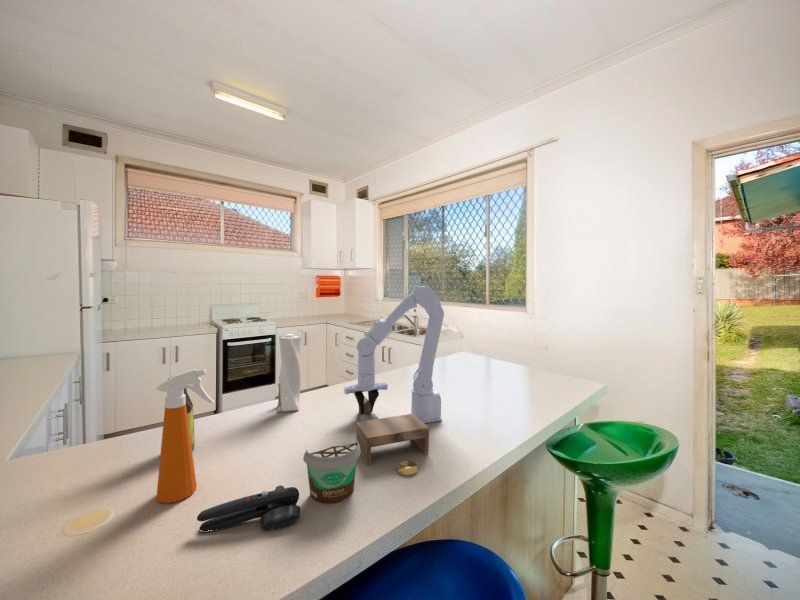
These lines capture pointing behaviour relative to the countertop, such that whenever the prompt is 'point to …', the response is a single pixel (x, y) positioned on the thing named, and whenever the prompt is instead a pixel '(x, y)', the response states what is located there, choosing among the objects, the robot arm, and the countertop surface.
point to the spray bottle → (178, 438)
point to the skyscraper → (289, 373)
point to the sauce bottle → (189, 416)
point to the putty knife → (367, 412)
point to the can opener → (255, 510)
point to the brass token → (407, 468)
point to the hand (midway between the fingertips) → (366, 412)
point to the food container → (332, 472)
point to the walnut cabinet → (391, 433)
